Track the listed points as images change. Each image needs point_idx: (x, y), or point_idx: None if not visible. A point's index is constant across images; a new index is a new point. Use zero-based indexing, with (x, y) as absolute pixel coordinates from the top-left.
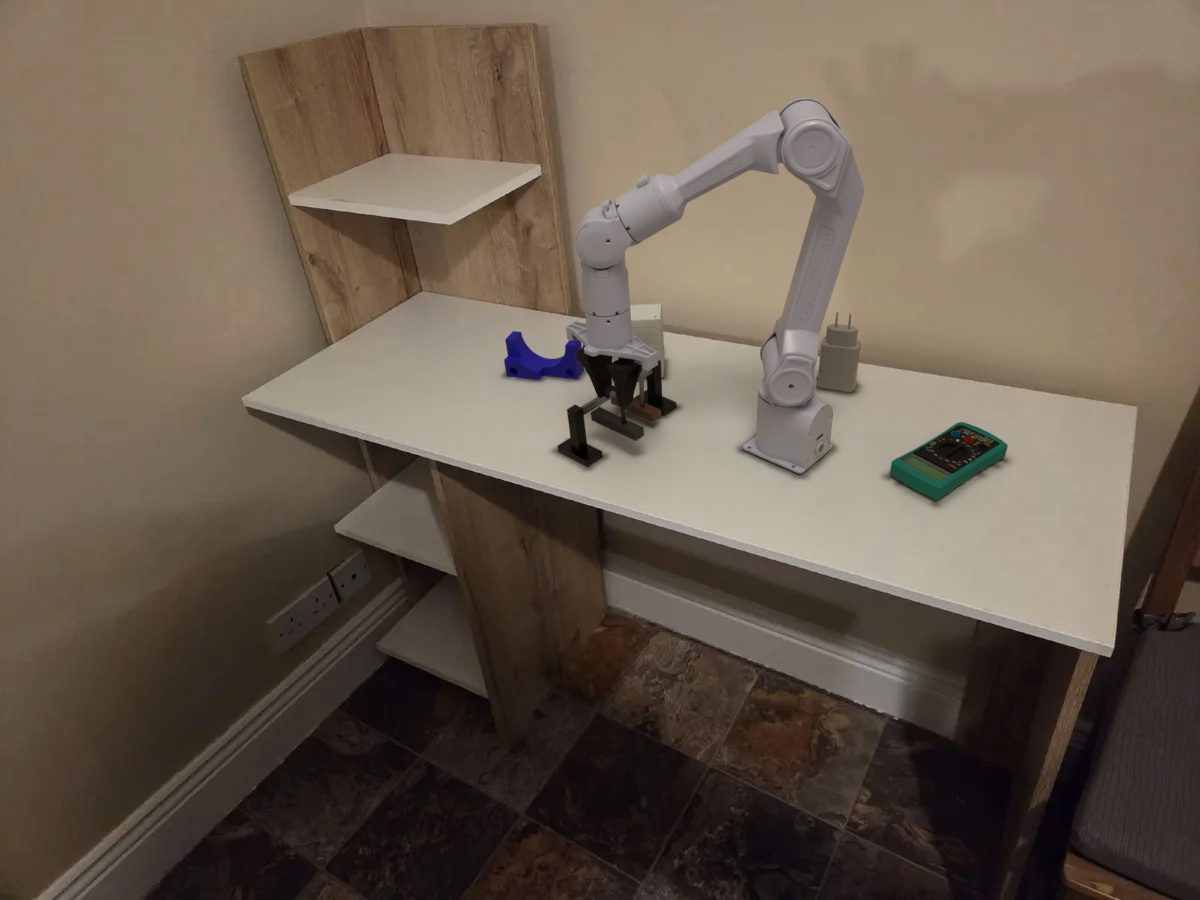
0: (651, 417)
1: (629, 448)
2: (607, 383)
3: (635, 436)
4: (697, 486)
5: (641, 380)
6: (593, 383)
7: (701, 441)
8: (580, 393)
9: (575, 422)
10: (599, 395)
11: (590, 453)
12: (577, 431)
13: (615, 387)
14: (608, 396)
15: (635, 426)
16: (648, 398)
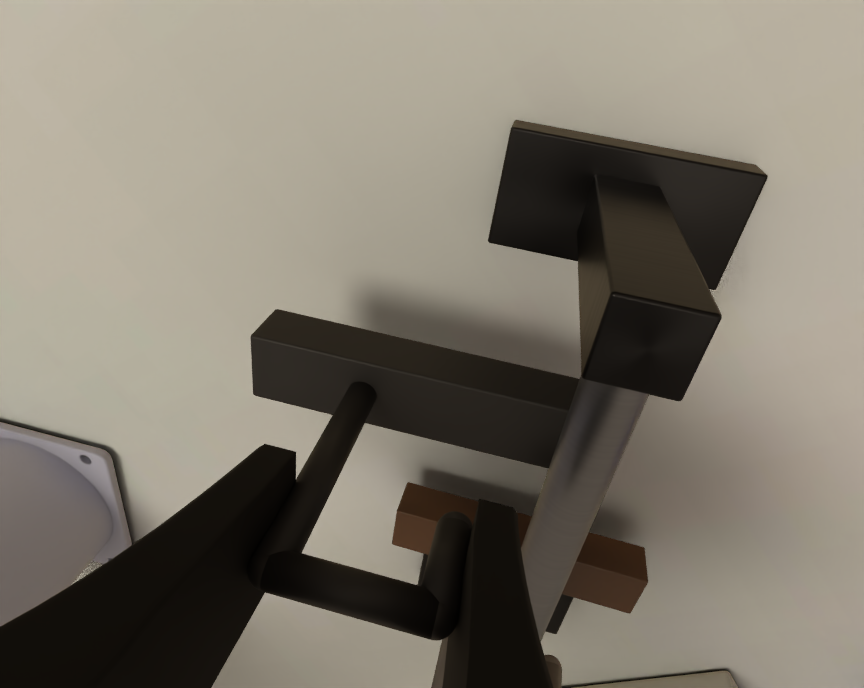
0: (408, 502)
1: (423, 332)
2: (421, 634)
3: (261, 324)
4: (56, 226)
5: (437, 678)
6: (510, 617)
7: (235, 450)
8: (846, 583)
9: (611, 253)
10: (480, 517)
11: (534, 199)
12: (598, 226)
13: (167, 590)
14: (437, 528)
15: (290, 386)
16: None
